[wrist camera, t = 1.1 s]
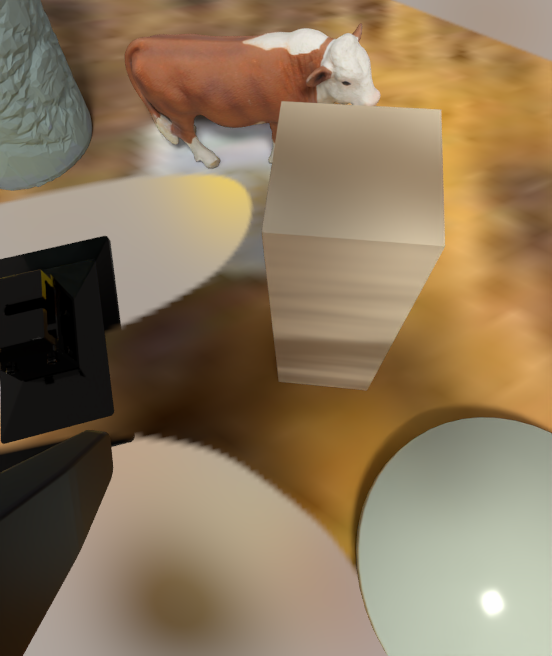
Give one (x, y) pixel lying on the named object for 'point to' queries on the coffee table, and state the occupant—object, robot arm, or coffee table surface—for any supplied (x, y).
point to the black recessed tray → (55, 342)
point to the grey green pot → (36, 100)
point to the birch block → (349, 234)
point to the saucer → (461, 543)
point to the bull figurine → (244, 79)
